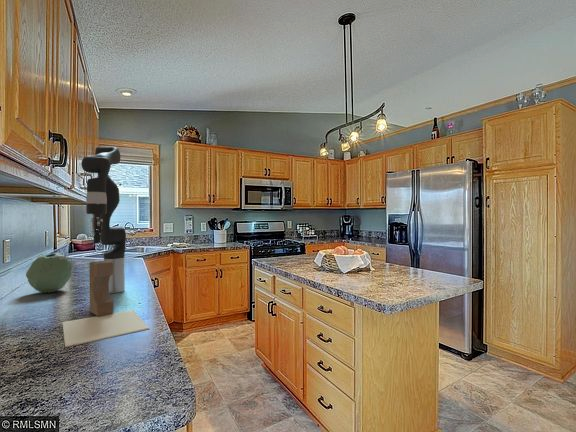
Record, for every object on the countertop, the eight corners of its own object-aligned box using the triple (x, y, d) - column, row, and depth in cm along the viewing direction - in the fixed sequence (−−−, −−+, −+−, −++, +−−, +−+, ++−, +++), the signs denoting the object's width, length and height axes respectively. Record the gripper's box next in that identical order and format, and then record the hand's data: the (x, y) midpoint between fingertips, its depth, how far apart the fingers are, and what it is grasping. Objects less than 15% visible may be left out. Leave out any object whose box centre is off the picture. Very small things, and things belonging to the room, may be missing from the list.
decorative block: (113, 313, 118) (113, 262, 119) (97, 317, 114) (96, 263, 115) (105, 309, 126) (105, 260, 127) (89, 312, 122) (89, 262, 123)
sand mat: (62, 323, 109) (62, 322, 109) (133, 310, 123) (133, 309, 123) (65, 347, 89) (65, 346, 89) (149, 329, 103) (149, 327, 103)
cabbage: (25, 292, 156) (25, 253, 156) (70, 286, 168) (70, 250, 168) (26, 298, 144) (26, 256, 144) (74, 291, 156) (74, 252, 157)
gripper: (84, 203, 134) (85, 242, 134) (87, 202, 124) (88, 244, 124) (104, 203, 139) (104, 241, 139) (108, 202, 128) (109, 243, 128)
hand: (96, 243), depth 131 cm, fingers closed
